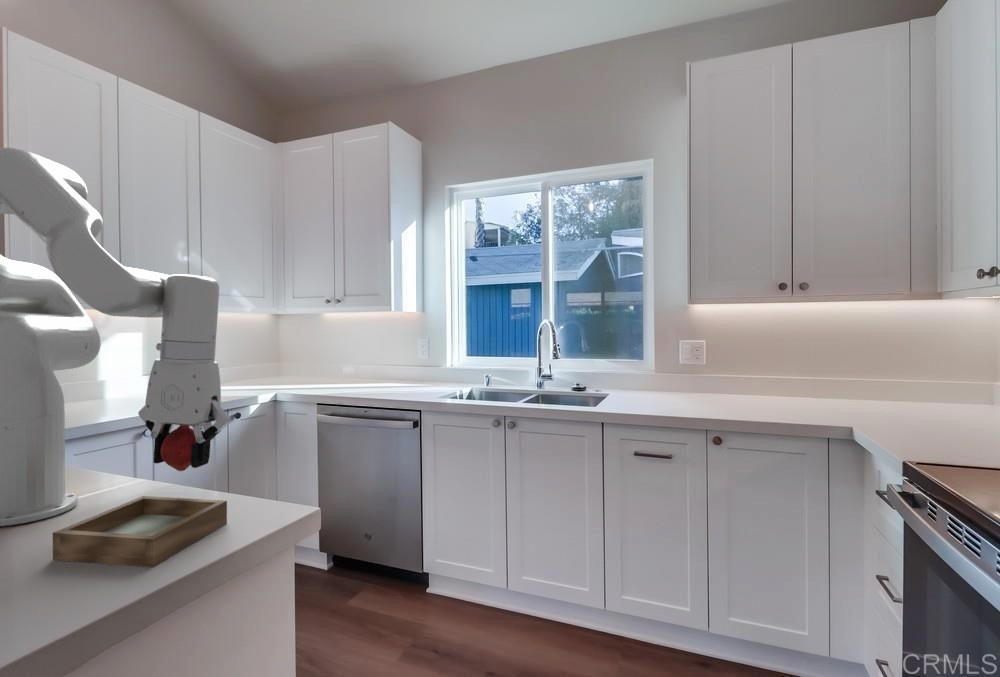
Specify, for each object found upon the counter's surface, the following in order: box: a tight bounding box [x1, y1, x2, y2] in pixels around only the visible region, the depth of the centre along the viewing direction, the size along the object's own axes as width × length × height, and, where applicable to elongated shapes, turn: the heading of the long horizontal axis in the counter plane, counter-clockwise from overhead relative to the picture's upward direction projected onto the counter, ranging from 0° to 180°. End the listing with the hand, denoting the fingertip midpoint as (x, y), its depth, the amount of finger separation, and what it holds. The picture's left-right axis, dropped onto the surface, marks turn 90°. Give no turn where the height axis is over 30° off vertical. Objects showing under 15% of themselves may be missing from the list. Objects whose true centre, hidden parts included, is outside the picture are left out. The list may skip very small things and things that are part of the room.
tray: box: [52, 495, 228, 568], centre depth 70 cm, size 14×14×4 cm
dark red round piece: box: [161, 425, 197, 472], centre depth 81 cm, size 6×6×8 cm
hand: (181, 462), depth 81 cm, fingers closed on dark red round piece, 5 cm apart
